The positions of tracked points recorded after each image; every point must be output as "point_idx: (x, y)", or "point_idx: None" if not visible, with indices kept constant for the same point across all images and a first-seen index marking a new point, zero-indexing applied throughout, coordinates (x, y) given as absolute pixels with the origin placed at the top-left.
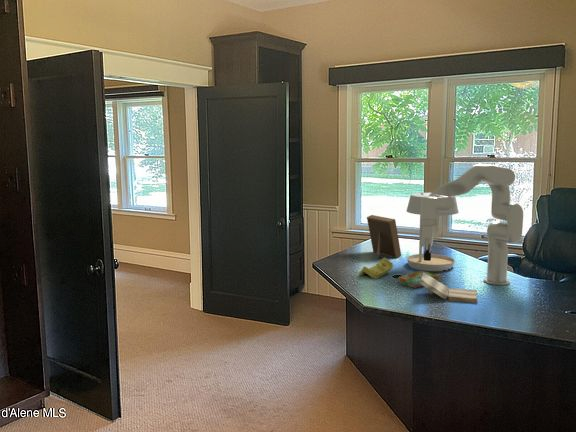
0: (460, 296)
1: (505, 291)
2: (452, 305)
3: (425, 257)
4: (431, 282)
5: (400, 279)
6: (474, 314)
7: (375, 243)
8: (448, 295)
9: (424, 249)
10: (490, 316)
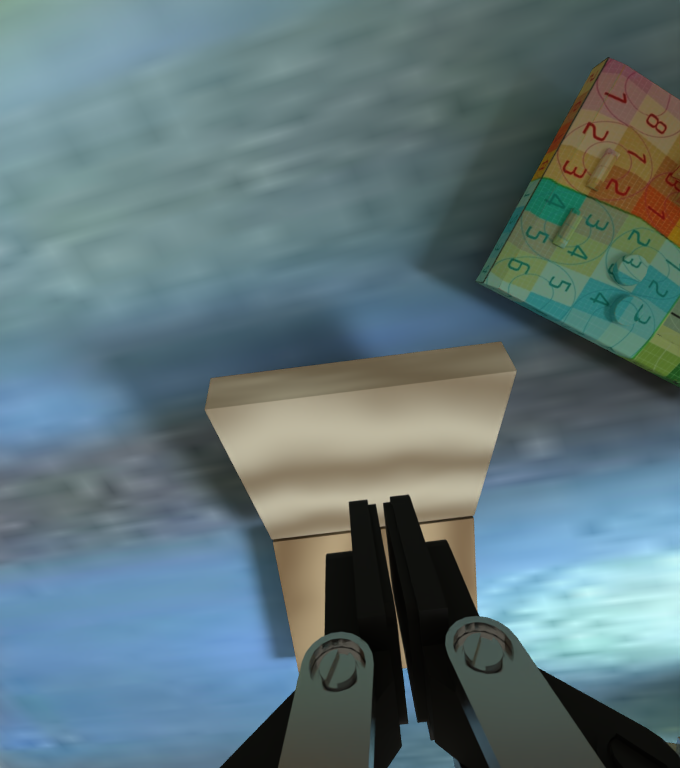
0: (305, 602)
1: None
2: (194, 559)
3: (325, 568)
4: (333, 458)
5: (580, 98)
6: (104, 667)
7: None
8: (293, 540)
9: (282, 740)
10: (117, 724)
